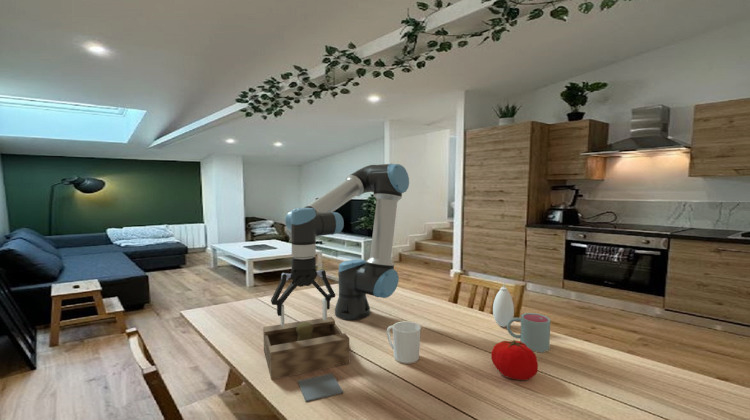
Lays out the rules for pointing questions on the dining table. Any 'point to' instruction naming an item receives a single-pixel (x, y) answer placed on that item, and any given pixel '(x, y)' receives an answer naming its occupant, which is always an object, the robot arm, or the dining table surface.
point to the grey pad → (319, 387)
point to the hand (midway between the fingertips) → (304, 322)
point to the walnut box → (304, 348)
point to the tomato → (514, 360)
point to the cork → (304, 331)
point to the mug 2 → (533, 331)
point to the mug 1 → (405, 341)
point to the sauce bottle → (503, 307)
